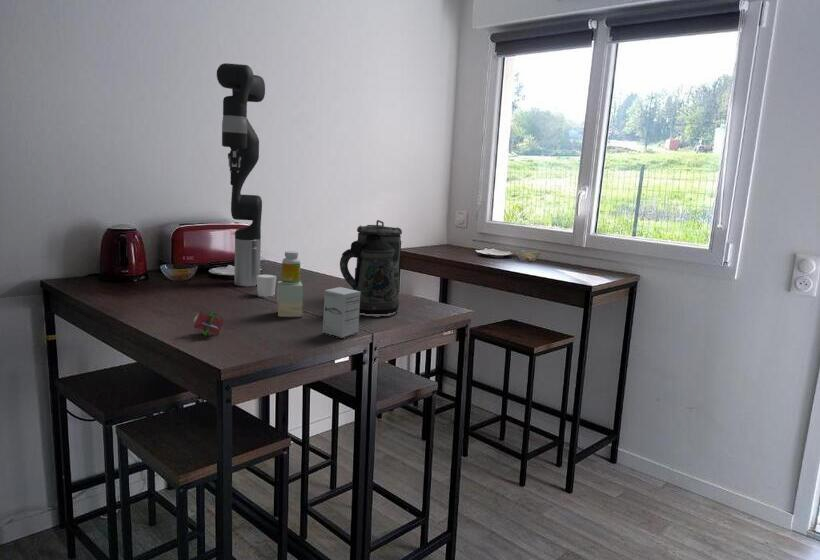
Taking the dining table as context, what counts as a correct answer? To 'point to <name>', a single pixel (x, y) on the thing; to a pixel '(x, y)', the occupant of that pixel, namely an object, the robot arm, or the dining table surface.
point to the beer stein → (372, 274)
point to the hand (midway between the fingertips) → (234, 184)
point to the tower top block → (290, 292)
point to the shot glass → (266, 285)
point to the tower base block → (289, 308)
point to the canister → (391, 238)
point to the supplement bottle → (291, 268)
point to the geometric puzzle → (208, 323)
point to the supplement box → (341, 311)
